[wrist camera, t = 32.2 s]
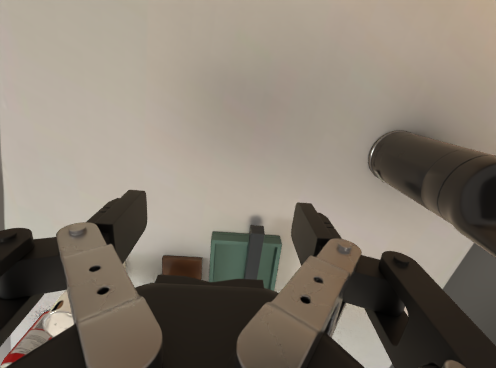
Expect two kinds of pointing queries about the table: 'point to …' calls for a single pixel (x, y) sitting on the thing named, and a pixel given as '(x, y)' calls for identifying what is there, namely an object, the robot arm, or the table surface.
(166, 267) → the stand
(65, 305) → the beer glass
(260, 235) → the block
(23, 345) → the soda can
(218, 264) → the tray
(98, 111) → the table surface
